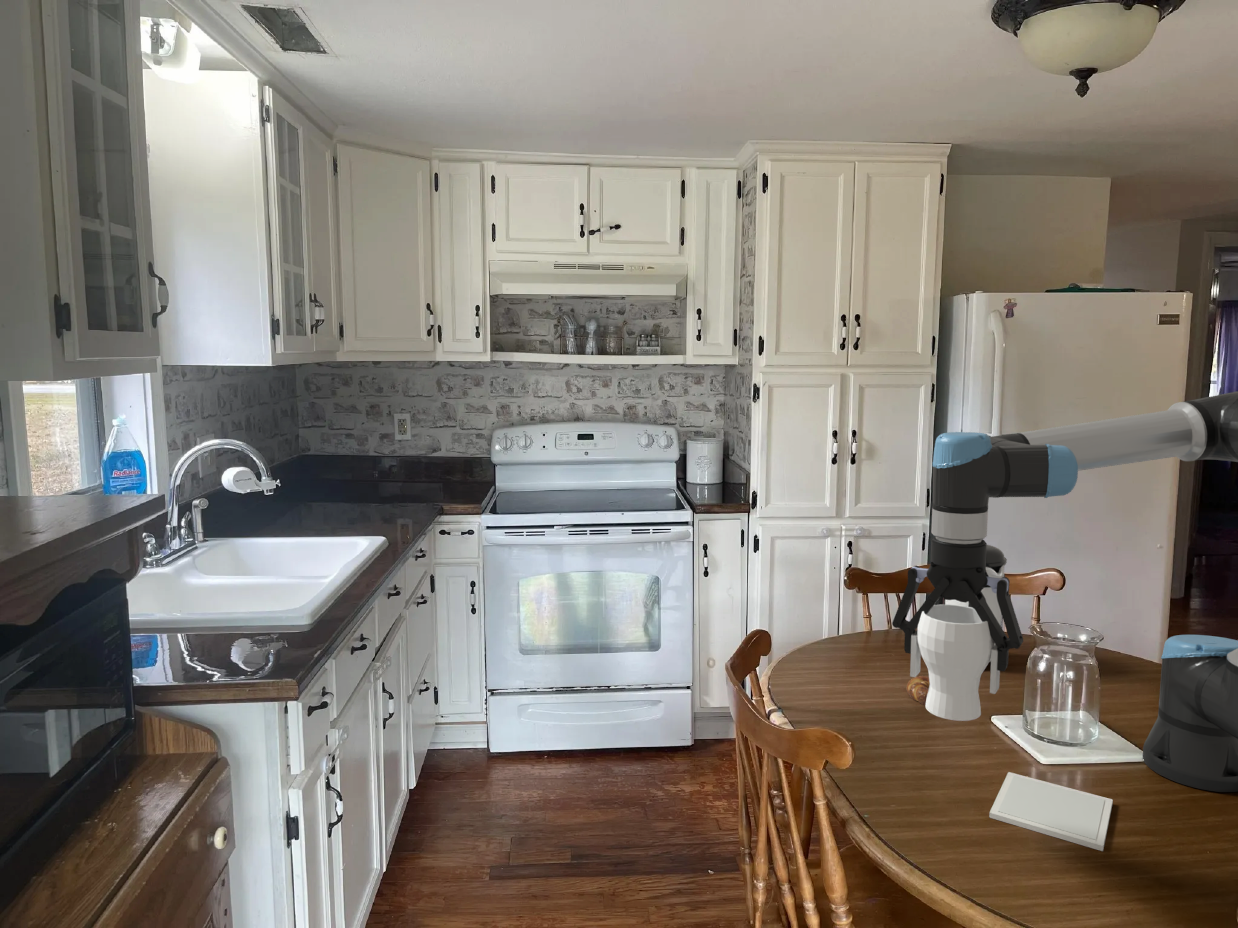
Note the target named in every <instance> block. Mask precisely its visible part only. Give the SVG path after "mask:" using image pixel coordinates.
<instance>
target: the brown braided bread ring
mask: <svg viewBox="0 0 1238 928" xmlns="http://www.w3.org/2000/svg"><path fill="white" fill-rule="evenodd" d="M929 685H930V681H929V676H927V675H919V676H918V675H917V676H916V677H912V678H911V679H909V680H908V682H907V683H906V687H905V688H906V692H907V694H908V696H909V697H910V698H911V699H912V700H913V701H915V702H919V703H920V704H922V705H923V706H925V705H926V698H927V694H928V689H929Z"/></svg>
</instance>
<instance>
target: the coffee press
mask: <svg viewBox="0 0 1238 928" xmlns="http://www.w3.org/2000/svg"><path fill="white" fill-rule="evenodd" d="M1007 562H1008V559H1007V558H1006V557H1005V554H1004V553H1003V551H1002V550H1001V549H1000V548H998V547H996V546H993V545H991V544H987V547H986V572H987V574H988V576H989V577H994V578H1000V579H1001V578H1002V577H1006V575H1005V566H1006V565H1007ZM981 592H982V594H983V595H984V597H985V599H986V602H987V604H988V606H989V608H990V609H991V611H992V613H993V614H994V616H995V618H996V619H997V621H998V623H999V624H1000V626H1001V628H1002V629H1003V626H1002V624H1003V623H1004V620H1003V617H1002V614H1001V611H1000V607H999V604H998V601H997V594H996V593H994V592H993V591H992V588H991V587H990V586H989V585H986V586H985V587H984V588H983V589H982V590H981ZM935 605H960V606H967V607H972V606H971V604H970V602H969V601H968V602H966V603H965V602H960V601H957V600H945V599H944V598H943V597H940V598H939V600H938V601H937V602H936V603H935ZM972 608H973V607H972ZM994 645H995V643H994ZM989 663H991V658H990V661H989Z"/></svg>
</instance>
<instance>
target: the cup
mask: <svg viewBox="0 0 1238 928" xmlns="http://www.w3.org/2000/svg"><path fill="white" fill-rule="evenodd" d="M916 631H917V640H918V644H919V648H920V652H921V658H922V660H923V661H924V663H925V666H926V667H927V672H928V677H929V681H930V685H929V689H928V694H927V698H926V705H924V706H925V709H926V710H927V711H928V712H929V713H930V714H931V715H934V716H936V717H938V718H941V719H946V720H951V721H958V722H962V721H963V722H968V721H974V720H976V719H978V718H980V717H981V715H982V711H981V710H982V709H981V701H980V695H979V688H980V682H981V676H982V674H983V672H984V671H985V669H986V668H987V666H988V665H989V663H990V662H989V661H990V658H991V650H992V648H993V647H994V641H993V639H992V637H991V636H990V631H989V627H988V622H987V621H985V622H982V621H981V619H980V617H979V615H978V614H977V612H976V610H975V609H974V608H972V607H967V606H960V605H944V604H943V605H934V606H933V607H932V609H931V610H930V611H929V612H928V614H927V615H926V614H925V613H924V611H922V614H921V617H920V620H919V624H918V626H917V630H916Z"/></svg>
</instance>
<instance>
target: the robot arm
mask: <svg viewBox="0 0 1238 928" xmlns="http://www.w3.org/2000/svg"><path fill="white" fill-rule="evenodd" d="M1175 457H1176V458H1177V459H1179V460H1181V461H1183V462H1194V461H1199V460H1200V461H1201V460H1216V461H1217V460H1218V461H1227V462H1236V463H1238V391H1233V392H1228V393H1223V394H1217V395H1216V394H1215V395H1212V396H1207V397H1202V398H1197V399H1192V400H1186V401H1178V402H1175V403H1173V404H1171V405H1170V406H1169V408H1168V409H1166V410H1161V411H1155V412H1148V413H1141V414H1133V415H1127V416H1122V417H1121V416H1120V417H1115V418H1108V419H1101V420H1096V421H1095V420H1094V421H1088V422H1082V423H1076V424H1075V423H1073V424H1068V425H1067V424H1066V425H1061V426H1055V427H1048V428H1040V429H1036V430H1035V429H1033V430H1028V431H1022V432H1020V431H1019V432H1017V433H1007V434H1001V435H995V436H994V435H993V436H991V435H989V434H987V433H984V432H972V431H969V432H968V431H967V432H966V431H955V432H954V431H950V432H944V433H940V434H939V435H938V436H937V437H936V439H935V443H934V450H933V457H932V458H933V460H932V471H933V472H932V482H933V483H932V508H931V509H932V510H931V511H932V512H931V514H932V515H931V534H932V535H933V537H932V539H931V540H930V565H929V567H928V568H922V567H920V566H918V565H913V566H912V567H910V569H908V571H907V584H906V587H905V589H904V592H903V595H902V597H901V600H900V602H899V605H898V607H897V609H896V612H895V614H894V618H893V620H892V624H891V625H892V627H894V628H896V629H899V630H901V631H903V633H904V647H903V648H904V651H905V654H910V663H909V664H910V667H909V668H910V669H909V672H910V673H909V677H910V678H911V677H912V678H914V677H917V676H918V675H919V673H921V658H922V655H921V652H920V648H919V644H918V640H917V631H918V630H917V629H918V624H919V620H920V617H921V614H922V611H924V613H925V614H926V615H927V614H928V612H929V611H930V610H931V609H932V607H933V606H934V605H935V603H936V602H937V601H938V600H939V598H940V597H943V600H944V599H945V600H957V601H960V602H965V603H966V602H968V601H969V602H970V604H971V606H972V607H973V608H974V609H975V610H976V612H977V614H978V615H979V617H980V619H981V621H982V622H985V621H987V622H988V627H989V631H990V636H991V637H992V639H993V641H994V643H995V645H994V647H993V648H992V650H991V662H990V678H989V694H992V695H995V694H996V693H997V692H998V691H999V689H1000V678H1001V677H1000V676H1001V672H1005V671H1006V670H1007V668H1008V666H1009V650H1011V649H1015V650H1016V649H1018V650H1019V648H1020V647H1021V646H1022V645H1023V643H1024V637H1023V634H1022V631H1021V628H1020V623H1019V622H1018V619H1017V615H1016V611H1015V609H1014V605H1013V601H1012V599H1011V596H1010V579H1009V578H1008V577H1006V576H1005V577H1002V578H1001V579H1000V578H994V577H989V576H988V574H987V572H986V547H987V545H988V544H987V542H986V541H985V540H984V539H985V538H987V537H988V518H989V501H990V498H995V499H996V498H997V499H998V498H1044V499H1047V498H1050V497H1062V496H1066V495H1068V494H1070V493H1071V492H1072V491H1073V490H1074V489H1075V486H1076V485H1077V482H1078V476H1079V471H1086V470H1087V471H1088V470H1093V469H1101V468H1107V467H1113V466H1121V465H1128V464H1129V465H1130V464H1134V463H1142V462H1147V461H1156V460H1162V459H1169V458H1175ZM925 578H927V579H928V580H929V582H930V583H931V585H932V586H933V590H932V591H931V593H929V595H928V597H927V598H926V600H925V601H924V602H923V603H922V604H921V606H920V607H919V609H918V610H916V611H917V612H916V613H915V614H914V615H913V616H912V618H911V619H910V620H907V616H908V614H909V611H910V609H911V606H912V603H913V602H914V599H915V596H916V594H917V591H918V589H919V586H920V584H921V583H922V582H923V581H924V580H925ZM986 585H989V586H990V587H991V588H992V591H993V592H994V593H996V594H997V601H998V604H999V607H1000V611H1001V614H1002V617H1003V623H1004V626H1005V630H1006V632H1007V634H1006V633H1005V631H1004V630H1003V627H1002V625H1001V626H1000V624H999V623H998V621H997V619H996V618H995V616H994V614H993V613H992V611H991V609H990V608H989V606H988V604H987V602H986V599H985V597H984V595H983V594H982V592H981V590H982V589H983V588H984V587H985V586H986ZM1001 627H1002V628H1001ZM1160 659H1161V669H1160V670H1161V671H1160V684H1159V685H1160V686H1159V687H1160V688H1159V700H1158V710H1157V711H1158V712H1157V713H1158V714H1157V718H1156V720H1155V722H1154V723H1153V725H1152V728H1151V730H1150V732H1149V734H1148V736H1146V739H1145V741H1144V744H1143V746H1142V760H1143V759H1144V761H1143V762H1144V764H1145V765H1146V766H1147V767H1148V768H1149V769H1151V770H1152V771H1153V772H1155V773H1156V774H1159V776H1162V777H1164V778H1165V779H1168V780H1170V781H1173V782H1175V783H1179V784H1180V785H1184V786H1187V787H1192V788H1196V789H1199V790H1204V791H1210V792H1219V793H1234V792H1235V793H1236V792H1238V640H1236V639H1232V638H1227V637H1221V636H1214V635H1213V636H1212V635H1206V634H1179V635H1173V636H1170V637H1168V638H1167V639H1166V640H1165V641H1164V645H1163V651H1162V655H1161V657H1160Z"/></svg>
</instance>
